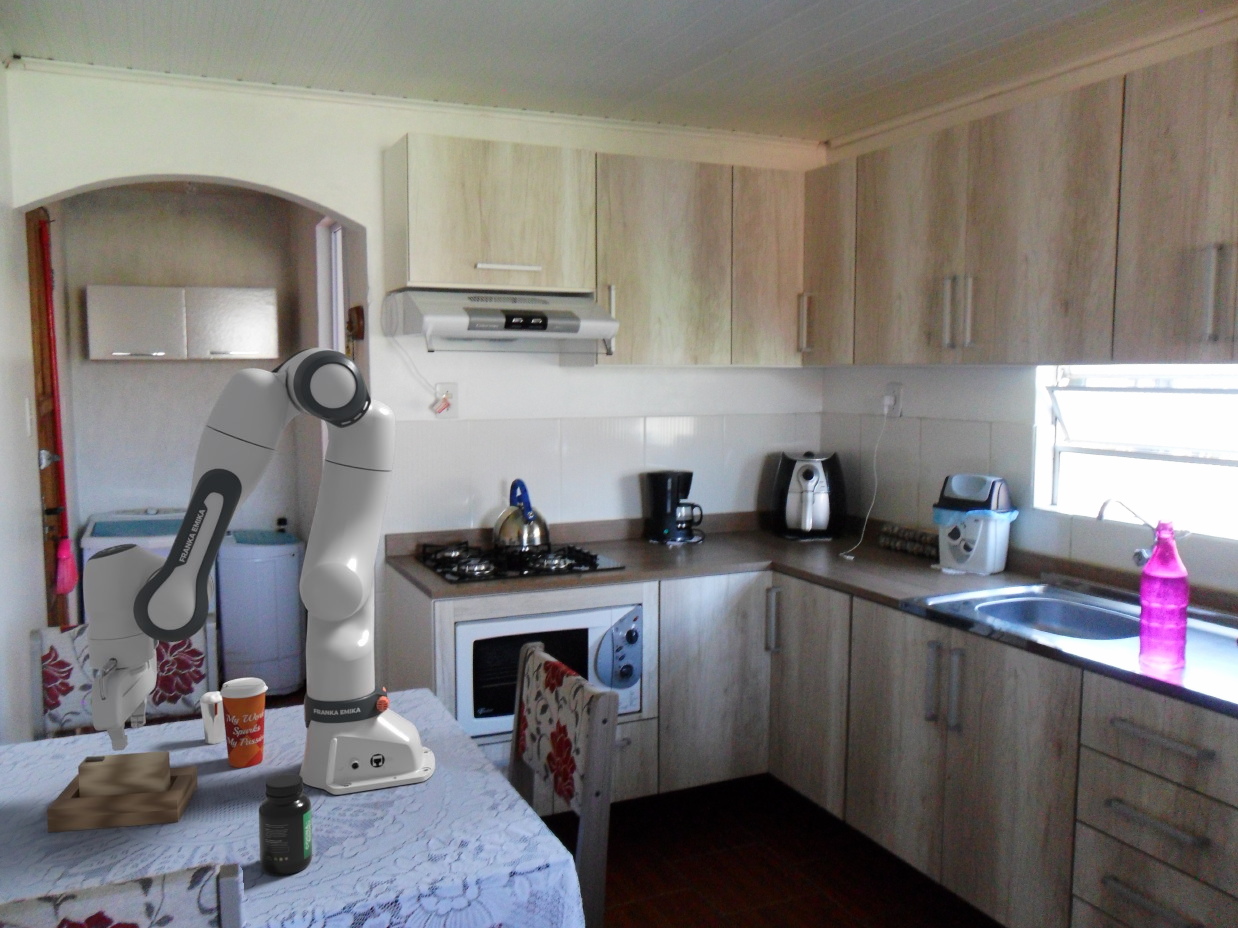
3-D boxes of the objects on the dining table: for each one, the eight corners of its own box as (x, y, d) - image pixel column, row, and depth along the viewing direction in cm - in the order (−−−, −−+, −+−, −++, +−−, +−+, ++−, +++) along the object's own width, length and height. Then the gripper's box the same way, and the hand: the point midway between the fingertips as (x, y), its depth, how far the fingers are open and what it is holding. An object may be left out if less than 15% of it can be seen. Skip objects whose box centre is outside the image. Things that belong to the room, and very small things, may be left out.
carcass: (197, 786, 161) (196, 759, 161) (178, 821, 149) (176, 793, 148) (78, 795, 158) (77, 767, 158) (48, 832, 145) (46, 802, 145)
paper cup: (224, 773, 167) (221, 692, 165) (220, 757, 173) (217, 680, 172) (273, 764, 170) (270, 686, 169) (266, 749, 177) (264, 674, 176)
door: (170, 787, 156) (169, 748, 156) (164, 797, 152) (162, 757, 152) (88, 793, 154) (86, 753, 153) (80, 804, 150) (77, 763, 149)
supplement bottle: (321, 863, 136) (320, 779, 135) (276, 881, 131) (274, 795, 130) (295, 847, 141) (293, 766, 140) (250, 864, 136) (248, 780, 135)
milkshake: (226, 745, 179) (224, 692, 178) (197, 745, 179) (195, 691, 178) (236, 736, 183) (234, 684, 183) (207, 736, 184) (206, 683, 183)
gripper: (122, 668, 142) (131, 760, 143) (161, 631, 162) (168, 712, 163) (75, 672, 141) (84, 765, 142) (119, 634, 161) (127, 716, 162)
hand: (129, 737), depth 153 cm, fingers open, 8 cm apart
